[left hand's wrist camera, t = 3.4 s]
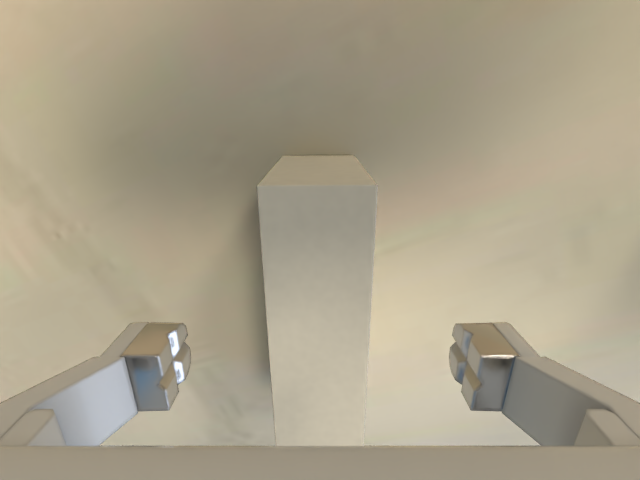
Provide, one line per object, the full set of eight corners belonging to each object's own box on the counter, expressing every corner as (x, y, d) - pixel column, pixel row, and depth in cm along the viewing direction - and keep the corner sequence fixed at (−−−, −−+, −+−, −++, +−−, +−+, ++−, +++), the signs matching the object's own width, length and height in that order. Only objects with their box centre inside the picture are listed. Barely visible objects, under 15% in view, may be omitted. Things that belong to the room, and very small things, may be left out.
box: (282, 155, 27) (256, 185, 16) (354, 155, 27) (378, 184, 16) (292, 376, 35) (279, 498, 24) (348, 376, 35) (360, 497, 24)
